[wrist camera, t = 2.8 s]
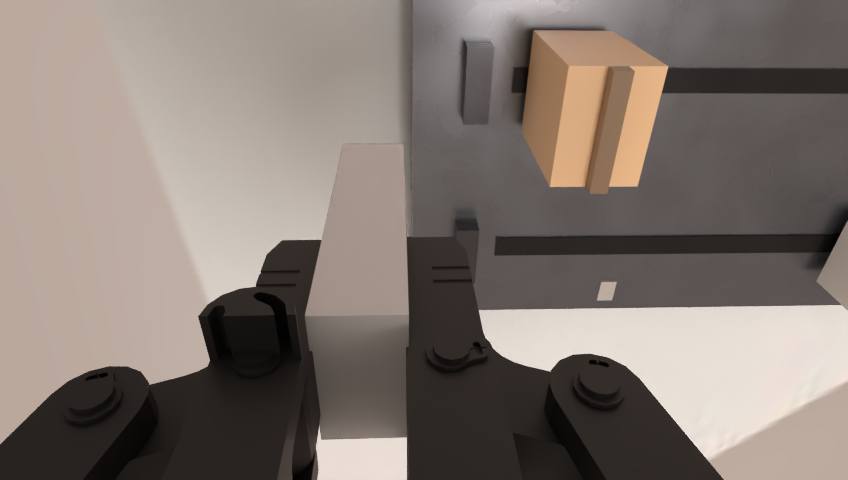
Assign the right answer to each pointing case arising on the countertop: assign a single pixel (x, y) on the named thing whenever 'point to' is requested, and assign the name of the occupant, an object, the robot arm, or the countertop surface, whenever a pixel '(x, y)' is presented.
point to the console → (664, 162)
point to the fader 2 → (837, 270)
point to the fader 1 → (590, 108)
